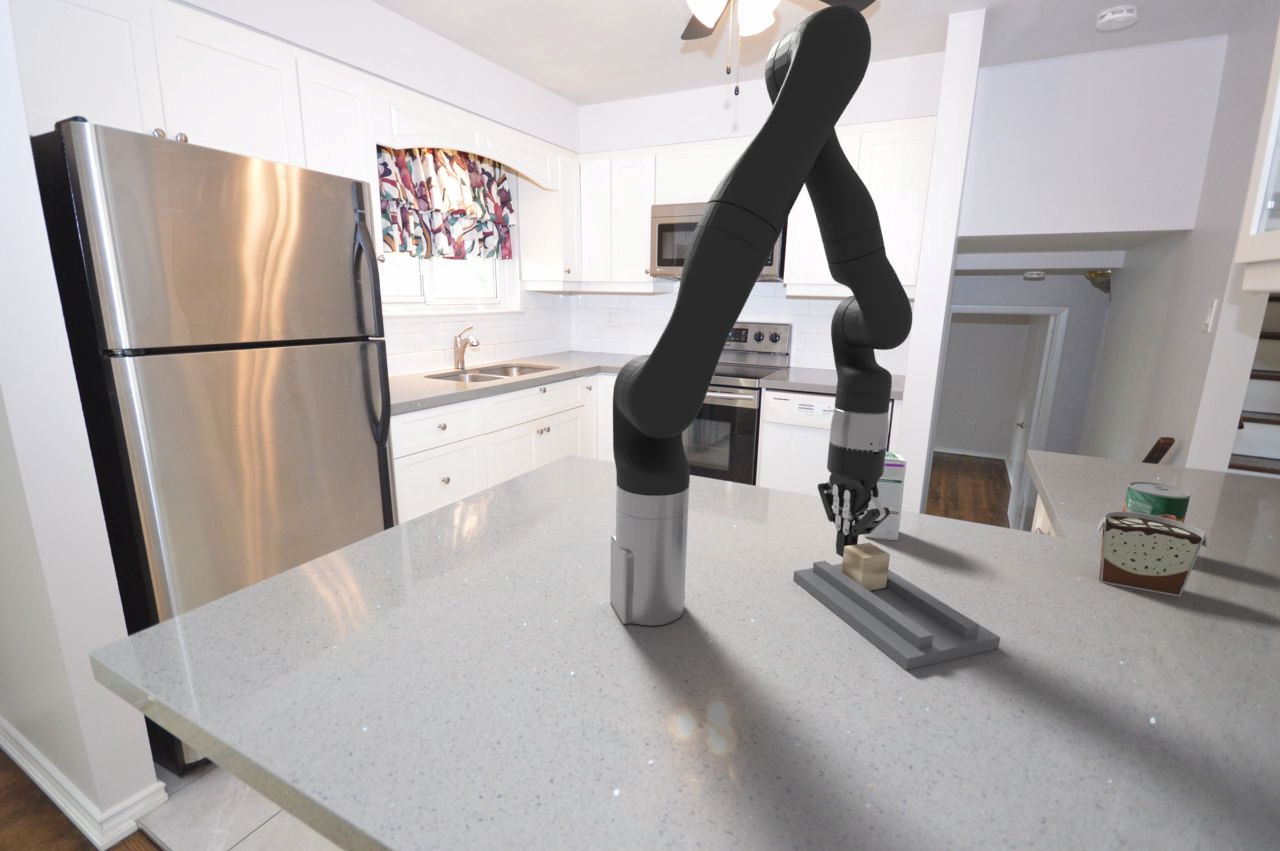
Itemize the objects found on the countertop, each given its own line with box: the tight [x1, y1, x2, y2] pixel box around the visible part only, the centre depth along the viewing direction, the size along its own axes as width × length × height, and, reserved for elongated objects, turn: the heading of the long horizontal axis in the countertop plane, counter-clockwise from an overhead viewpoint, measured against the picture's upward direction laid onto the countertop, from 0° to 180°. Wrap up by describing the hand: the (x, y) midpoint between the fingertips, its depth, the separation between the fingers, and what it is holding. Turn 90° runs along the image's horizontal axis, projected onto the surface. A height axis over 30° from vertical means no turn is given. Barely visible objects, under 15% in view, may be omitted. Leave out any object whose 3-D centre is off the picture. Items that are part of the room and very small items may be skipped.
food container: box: [1097, 511, 1208, 598], centre depth 86 cm, size 12×6×10 cm, turn 65°
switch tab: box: [841, 542, 891, 591], centre depth 80 cm, size 4×4×5 cm
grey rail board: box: [793, 560, 1001, 671], centre depth 76 cm, size 22×14×3 cm, turn 19°
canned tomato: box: [1122, 481, 1192, 523], centre depth 97 cm, size 8×8×11 cm
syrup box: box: [863, 451, 907, 541], centre depth 101 cm, size 6×6×14 cm
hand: (845, 555), depth 84 cm, fingers closed
